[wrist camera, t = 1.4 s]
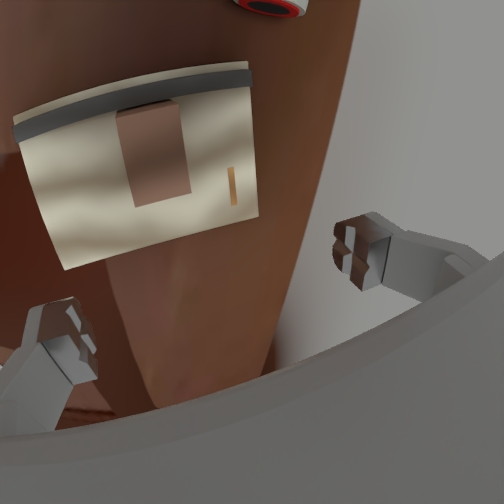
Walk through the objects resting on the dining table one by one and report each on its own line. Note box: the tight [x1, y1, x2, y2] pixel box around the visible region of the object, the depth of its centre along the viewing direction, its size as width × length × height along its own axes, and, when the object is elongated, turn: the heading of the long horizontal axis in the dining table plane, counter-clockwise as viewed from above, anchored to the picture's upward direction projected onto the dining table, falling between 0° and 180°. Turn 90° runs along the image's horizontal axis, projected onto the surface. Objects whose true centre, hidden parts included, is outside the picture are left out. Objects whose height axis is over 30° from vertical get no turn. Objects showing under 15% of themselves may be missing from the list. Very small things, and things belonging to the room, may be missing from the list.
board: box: [12, 61, 259, 270], centre depth 26 cm, size 16×21×4 cm
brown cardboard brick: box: [115, 99, 192, 208], centre depth 23 cm, size 7×4×5 cm, turn 5°
